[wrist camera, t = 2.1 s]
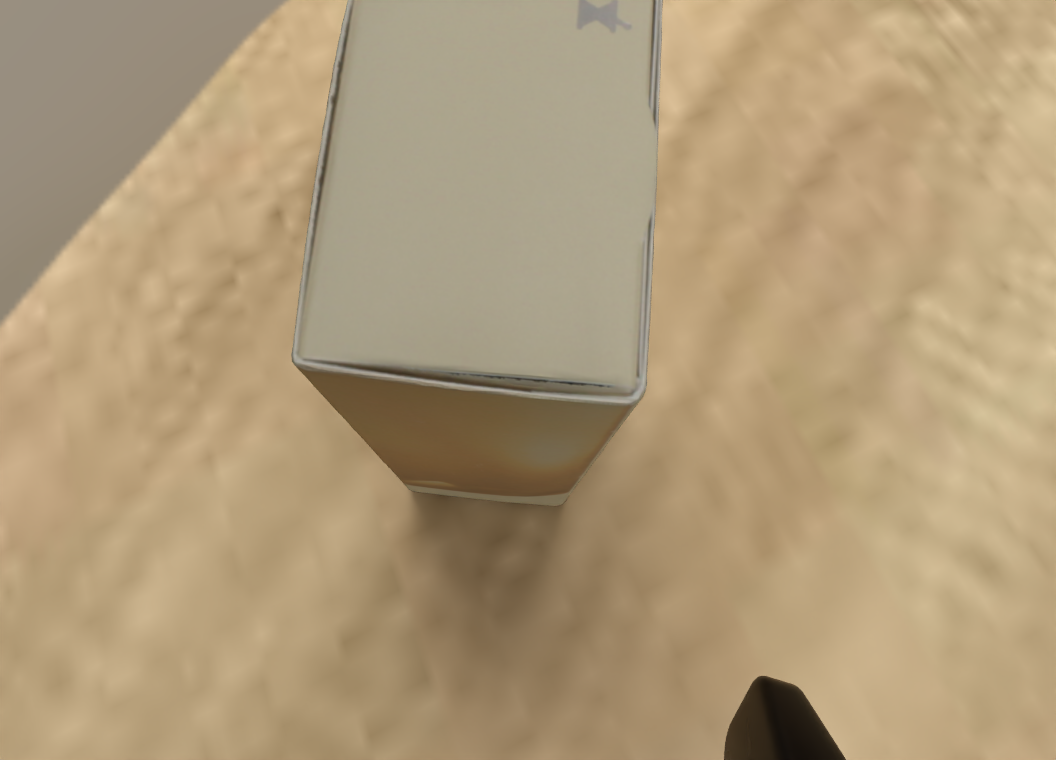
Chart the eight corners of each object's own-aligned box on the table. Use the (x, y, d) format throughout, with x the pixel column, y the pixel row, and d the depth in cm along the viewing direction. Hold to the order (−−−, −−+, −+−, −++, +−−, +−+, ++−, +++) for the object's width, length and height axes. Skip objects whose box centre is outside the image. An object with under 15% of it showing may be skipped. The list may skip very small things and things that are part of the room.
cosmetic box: (432, 280, 22) (354, -81, 11) (583, 294, 22) (671, -52, 11) (403, 505, 21) (269, 368, 9) (567, 519, 21) (653, 402, 9)
